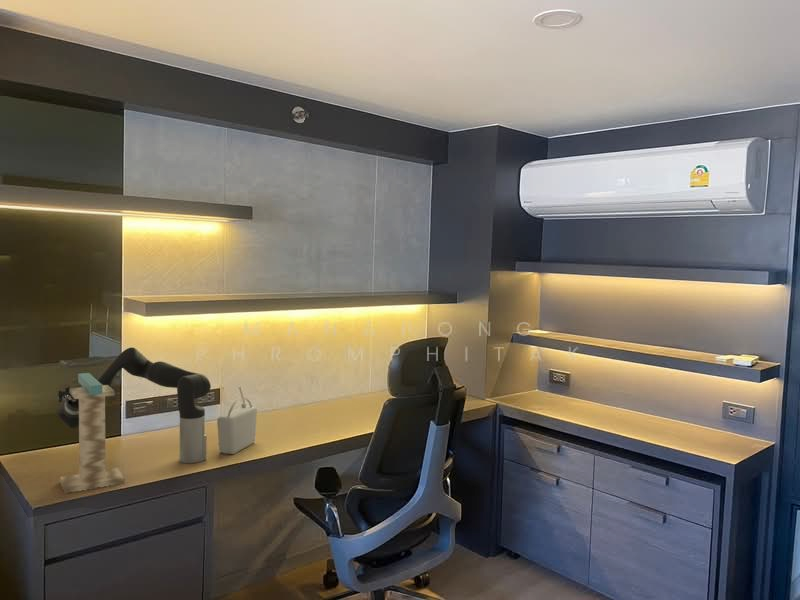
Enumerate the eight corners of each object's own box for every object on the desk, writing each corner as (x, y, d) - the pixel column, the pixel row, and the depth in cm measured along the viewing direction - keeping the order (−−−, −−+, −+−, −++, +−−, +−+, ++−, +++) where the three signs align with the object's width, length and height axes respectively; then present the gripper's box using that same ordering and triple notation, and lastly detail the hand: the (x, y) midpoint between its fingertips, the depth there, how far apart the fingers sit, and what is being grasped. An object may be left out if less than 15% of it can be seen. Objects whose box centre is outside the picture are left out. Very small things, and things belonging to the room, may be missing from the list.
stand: (117, 473, 217) (116, 384, 215) (124, 483, 207) (124, 390, 205) (60, 482, 206) (59, 389, 204) (65, 493, 196) (64, 395, 195)
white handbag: (240, 439, 261) (241, 383, 260) (258, 441, 259) (258, 384, 258) (212, 454, 240) (213, 392, 239) (231, 456, 238) (231, 394, 237)
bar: (89, 381, 220) (88, 372, 219) (102, 393, 199) (102, 384, 198) (78, 381, 217) (78, 373, 217) (90, 395, 197) (90, 385, 196)
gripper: (54, 395, 231) (59, 380, 219) (95, 391, 239) (102, 376, 228) (56, 413, 228) (60, 399, 216) (97, 409, 237) (104, 395, 225)
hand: (81, 387), depth 222 cm, fingers open, 8 cm apart
